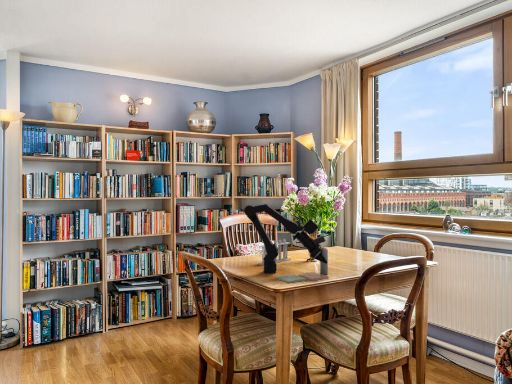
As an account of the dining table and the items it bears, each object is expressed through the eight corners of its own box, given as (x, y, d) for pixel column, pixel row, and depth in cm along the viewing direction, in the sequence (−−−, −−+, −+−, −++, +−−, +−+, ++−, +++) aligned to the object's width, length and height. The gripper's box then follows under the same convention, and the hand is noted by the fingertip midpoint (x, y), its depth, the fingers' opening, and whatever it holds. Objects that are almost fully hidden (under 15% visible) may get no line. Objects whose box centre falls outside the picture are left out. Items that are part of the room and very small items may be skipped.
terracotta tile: (312, 280, 196) (312, 278, 196) (298, 276, 206) (298, 274, 206) (328, 278, 202) (328, 276, 202) (314, 274, 211) (314, 272, 211)
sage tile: (288, 283, 191) (288, 281, 191) (275, 278, 200) (275, 276, 200) (306, 280, 197) (306, 278, 197) (292, 276, 206) (292, 274, 206)
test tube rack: (285, 259, 256) (285, 238, 256) (290, 259, 253) (290, 239, 253) (258, 264, 239) (258, 242, 238) (263, 265, 236) (263, 243, 235)
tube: (320, 274, 210) (320, 247, 210) (319, 273, 214) (319, 246, 214) (328, 274, 210) (328, 247, 210) (327, 273, 214) (327, 246, 214)
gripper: (317, 232, 203) (338, 254, 202) (316, 228, 221) (336, 248, 220) (301, 247, 204) (323, 269, 203) (302, 242, 223) (321, 262, 221)
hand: (326, 261), depth 212 cm, fingers open, 9 cm apart
